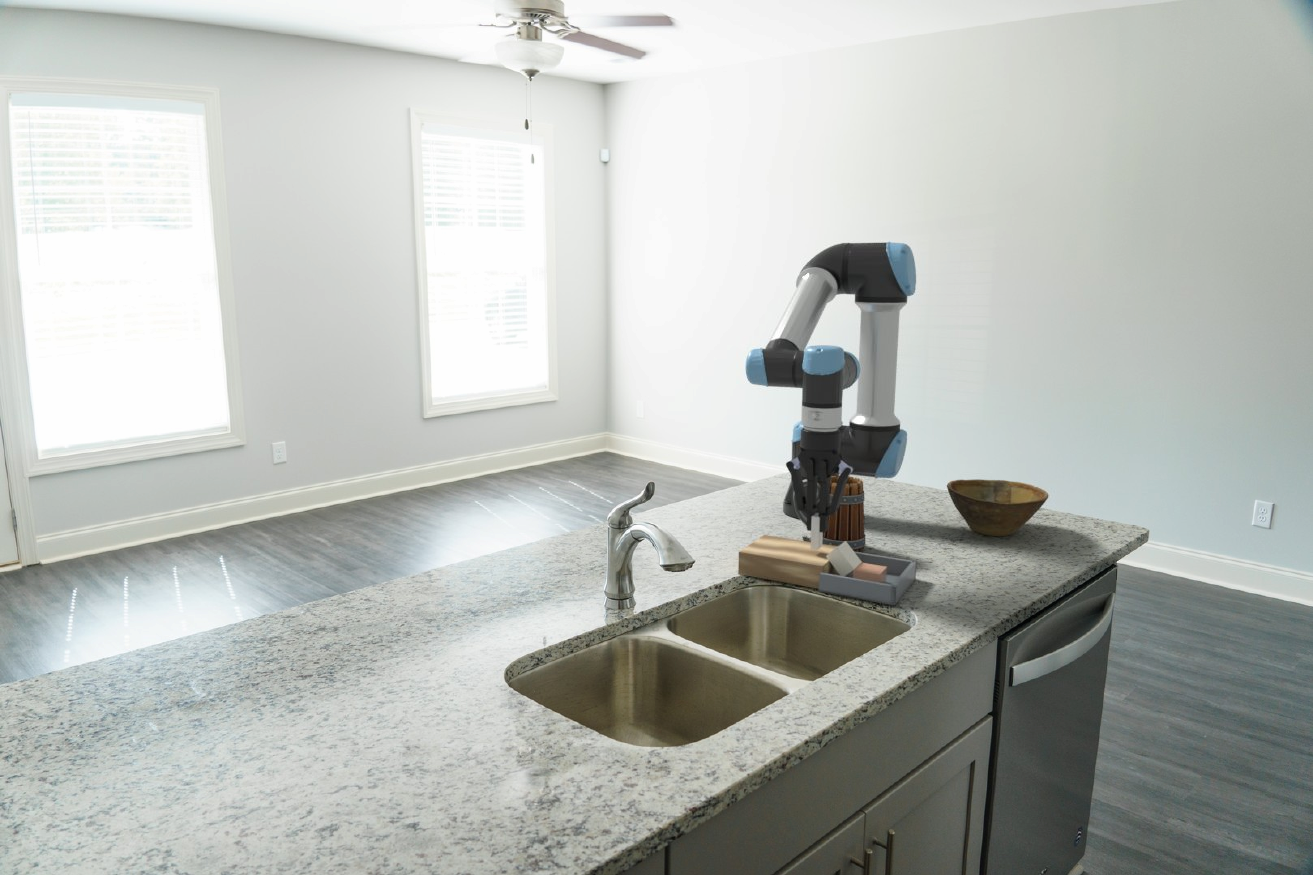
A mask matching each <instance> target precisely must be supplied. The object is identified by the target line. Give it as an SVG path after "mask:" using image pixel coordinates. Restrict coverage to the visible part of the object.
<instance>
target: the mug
mask: <svg viewBox="0 0 1313 875" xmlns="http://www.w3.org/2000/svg"><path fill="white" fill-rule="evenodd" d="M839 476H840V475H839ZM839 476H838V477H836V476H831V480H830V504H829V508H830V505H831V501H832V498H833V495H834V491H835V488H836V484H837V481H838V478H839ZM803 485H804V486H807V479H806V480H803ZM793 501H794V507H795V511H796V513H797V515H798V517H799V518H798V519H799V521H801V522H802V524H804V525H805V526H806V527H807V518H806V517H805V516H804V515H803V514H802V512H801V511H799V510H798V508H797V503H796V498H795V493H793ZM819 501H820V485H819V484H818V483H817V503H818V502H819ZM817 503H816V504H817ZM864 506H865V491H864V482H863V480H862V479H860V478H858V477H853V476H850V475H849V477H848V479H847V483H846V486H845V489H844V493H843V496H842V499H841V503H840V506H839V509H838V511H837V512H836V513H835V514H834V515H829V516H828V529H827V531H826V532H825V533H823V539H822V544H826V545H832V546H839V545H841V544H842V543H843V542H845V541H846V542H847V543H848V545H849V546H850V547H851V548H852V550H853V551H854V552H861V553H862V552H863V551H864V550H865V548H866V534H865V507H864ZM802 541H807V542H811V536H810V537H808V534H802Z"/></svg>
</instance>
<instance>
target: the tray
mask: <svg viewBox="0 0 1313 875" xmlns="http://www.w3.org/2000/svg"><path fill="white" fill-rule="evenodd" d="M855 554H856V555H857V556H858V558H859V559H860V560H861V561H862V562H861V563H867V564H873V565H879V566H885V567H887V574H886V582H885V584H884V583H879V582H873V581H867V580H862V579H856V578H853V571H851V572H850V573H848V574H847V575H845V576H840V574H839V573H838V572H837V573H836V574H835V575H833V574H827V573H822V572H821V573H820V578H819V589H818V592H819V593H825V594H830V595H835V596H840V597H846V598H852V599H856V600H862V601H866V602H873V603H878V604H883V605H889V606H896V604H897V603H898V601H900V599H902V596H904V594H905V593H906V591H908V589H909V588H910V586H911V585H912V584H913V583H914V582H915V581H916V579H917V578H916V575H917V562H918V561H917V560H916V561H915V560H910V559H905V558H904V559H903V558H896V557H891V556H884V555H878V554H871V553H865V552H862V551H861V552H855Z"/></svg>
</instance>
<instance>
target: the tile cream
mask: <svg viewBox="0 0 1313 875" xmlns="http://www.w3.org/2000/svg"><path fill="white" fill-rule="evenodd" d="M826 557H827V558H828V560H829V561H830V562H831V564H832V565H833V566H834V568H835V569H836V570H837V572H838V573H839V574H840V576H845V575H847V574H848V573H850V572H851V571H853V570H854V569H855V568H856V567H857V566H858V565H859V564H860V563H861V562H862V561H861V560H860V559H859V558H858V556H857V555H856V554H855V552H854V551H853V550H852V548H851V547H850V546H849V545H848V543H847V542H846V541H845V542H843V543H842V544H841V545H839V546H838V547H836V548H835V549H834V550H832V551H831V552H830V553H829V554H828V555H827V556H826Z"/></svg>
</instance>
